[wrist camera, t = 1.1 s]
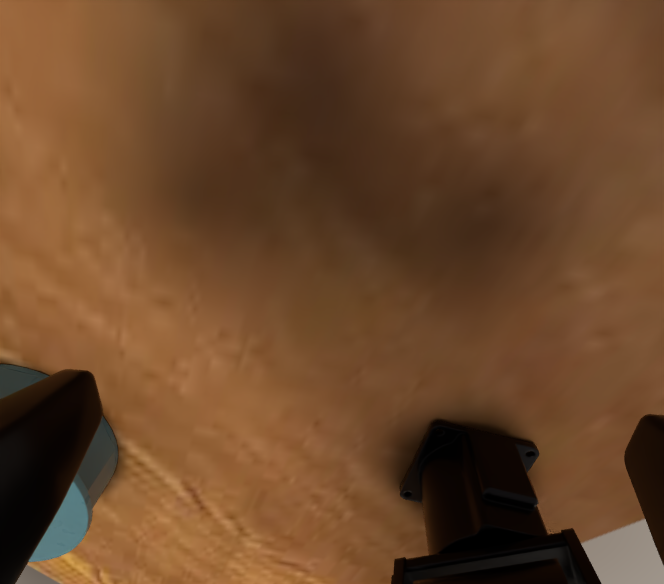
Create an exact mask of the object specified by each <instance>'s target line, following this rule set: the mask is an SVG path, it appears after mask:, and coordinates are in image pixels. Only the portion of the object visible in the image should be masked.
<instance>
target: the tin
mask: <svg viewBox="0 0 664 584" xmlns="http://www.w3.org/2000/svg"><path fill="white" fill-rule="evenodd" d="M47 377H49V376H48V375H45V374H43V373H40V372H38V371H35V370H31V369H28V368H24V367H19V366H14V365H6V364H0V399H1V398H4V397H6V396H8V395H10V394H12V393H14V392H17V391H19V390H21V389H23V388H25V387H27V386H30V385H32V384H34V383H36V382H38V381H40V380H43V379H45V378H47ZM117 460H118V447H117V443H116V439H115V437H114V434H113V432H112V430H111V428H110V426H109V425H108V423H107V421H106V420H105V419H104V417H103V416H102V419H101V422H100V425H99V427H98V429H97V431H96V433H95V435H94V438H93V440H92V442H91V444H90V446H89V448H88V450H87V452H86V455H85V457H84V459H83V461H82V463H81V465H80V467H79V469H78V471H77V473H78V475H79V476H80V478H81V479H82V481H83V482H84V484H85V486H86V488H87V490H88V492H89V496H90V499H91V502H92V508H93V507H94V505H95V504H96V502H97V500H98V499H99V497H100V495H101V494H102V492H103V491H104V489H105V487H106V486H107V484H108V482H109V481H110V479H111V478H112V476H113V474H114V472H115V468H116V465H117Z"/></svg>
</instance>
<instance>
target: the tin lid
mask: <svg viewBox="0 0 664 584" xmlns="http://www.w3.org/2000/svg"><path fill="white" fill-rule="evenodd" d="M92 512H93V511H92V502H91V499H90V496H89V492H88V490H87V488H86V486H85V484H84V482H83V481H82V479H81V478H80V476H79V475H78V473H77V474H76V476H75V478H74V480H73V482H72V484H71V486H70V488H69V491H68V493H67V495H66V497H65V499H64V501H63V503H62V505H61V506H60V508H59V510H58V512H57V514H56V515H55V517H54V519H53V521H52V523H51V524H50V526H49V528H48V529H47V531H46V533H45V534H44V536H43V538H42V539H41V541H40V543H39V544H38V546H37V548H36V550H35V551H34V553H33V555H32V556H31V558H30V560H29V561H28V562H35V561H43V560H49V559H53V558H56V557H59V556H61V555H64V554H66V553H68V552H69V551H71V550H72V549H74V548H75V547H76V546H77V545H78V544H79V543H80V542H81V541H82V539H83V538H84V536H85V534H86V533H87V531H88V529H89V527H90V524H91V521H92Z"/></svg>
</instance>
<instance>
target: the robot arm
mask: <svg viewBox="0 0 664 584" xmlns="http://www.w3.org/2000/svg"><path fill="white" fill-rule="evenodd" d="M102 414H103V409H102V404H101V400H100V396H99V392H98V389H97V385H96V381H95V378H94V375H93V374H92V373H91V372H89V371H86V370H73V369H66V370H62V371H60V372H58V373H55V374H53V375H51V376H49V377H47V378H45V379H43V380H40V381H38V382H36V383H34V384H32V385H30V386H27V387H25V388H23V389H21V390H19V391H17V392H14V393H12V394H10V395H8V396H6V397H4V398H1V399H0V584H15V583H16V581H17V580H18V578H19V576H20V575H21V573H22V571H23V570H24V568H25V566H26V565H27V563H28V561H29V560H30V558H31V556H32V555H33V553H34V551H35V550H36V548H37V546H38V544H39V543H40V541H41V539H42V538H43V536H44V534H45V533H46V531H47V529H48V528H49V526H50V524H51V523H52V521H53V519H54V517H55V515H56V514H57V512H58V510H59V508H60V506H61V505H62V503H63V501H64V499H65V497H66V495H67V493H68V491H69V488H70V486H71V484H72V482H73V480H74V478H75V476H76V474H77V471H78V469H79V467H80V465H81V463H82V461H83V459H84V457H85V455H86V452H87V450H88V448H89V446H90V444H91V442H92V440H93V438H94V435H95V433H96V431H97V429H98V427H99V425H100V422H101V419H102ZM438 429H441V430H439V431H437V430H438ZM529 451H530V452H529ZM538 456H539V451H538V449H537V446H536V445H535V444H533V443H530V442H526V441H521V440H517V439H513V438H509V437H505V436H501V435H497V434H492V433H488V432H484V431H480V430H476V429H472V428H468V427H463V426H459V425H455V424H451V423H447V422H443V421H435V422H433V423H432V424H431V425H430V426H429V429H428V431H427V433H426V435H425V437H424V439H423V441H422V443H421V445H420V447H419V449H418V451H417V453H416V455H415V457H414V459H413V461H412V463H411V465H410V468H409V470H408V472H407V474H406V476H405V478H404V480H403V482H402V484H401V486H400V496H401V497H402V498H404V499H407V500H411V501H415V502H420V503H422V505H423V513H424V520H425V528H426V536H427V543H428V551H429V555H428V556H422V557H416V558H410V559H406V558H405V557H404V558H398V559H395V561H394V575H392V580H391V584H601V582H600V580H599V578H598V576H597V574H596V572H595V570H594V568H593V566H592V564H591V562H590V561H589V559H588V557H587V555H586V553H585V551H584V549H583V547H582V545H581V543H580V541H579V539H578V537H577V535H576V533H575V531H574V529H573V528H571V529H565V530H561V533H555V534H549V535H548V533H547V530H546V528H545V525H544V523H543V520H542V518H541V515H540V512H539V510H538V507H537V504H538V499H537V496H536V494H535V491H534V489H533V486H532V484H531V481H530V479H529V476H528V474H527V472H528V471H529V469H530V468H531V466H532V465H533V463H534V462H535V460H536V459H537V457H538ZM624 459H625V465H626V469H627V471H628V474H629V477H630V479H631V482H632V485H633V487H634V490H635V493H636V495H637V498H638V500H639V503H640V506H641V508H642V511H643V514H644V516H645V519H646V522H647V524H648V527H649V529H650V532H651V535H652V537H653V540H654V543H655V545H656V548H657V550H658V553H659V555H660V558H661V560H662V563H663V565H664V415H653V414H649V415H645V416H644V417H642V418H641V419H640V421H639V423H638V425H637V427H636V429H635V431H634V433H633V435H632V437H631V439H630V442H629V444H628V446H627V448H626V450H625V456H624Z"/></svg>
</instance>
